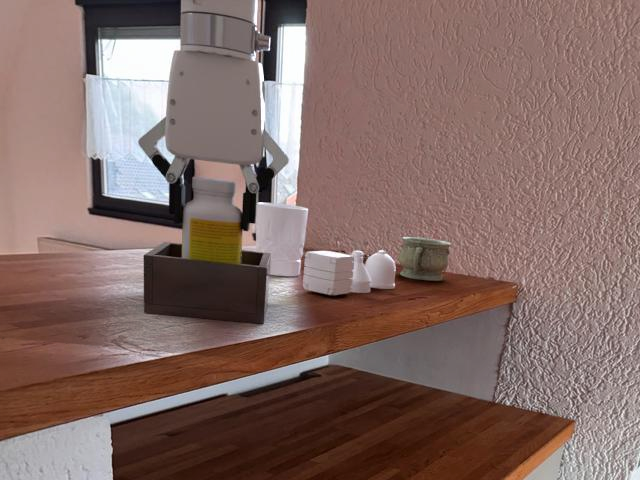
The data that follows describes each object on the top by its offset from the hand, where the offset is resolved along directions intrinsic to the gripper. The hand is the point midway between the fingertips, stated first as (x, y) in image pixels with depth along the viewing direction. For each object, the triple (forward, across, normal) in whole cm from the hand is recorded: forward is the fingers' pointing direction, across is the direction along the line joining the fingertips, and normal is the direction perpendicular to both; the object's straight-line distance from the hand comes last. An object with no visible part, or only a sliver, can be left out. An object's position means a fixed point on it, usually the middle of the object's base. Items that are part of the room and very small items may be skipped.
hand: (212, 224), depth 81 cm
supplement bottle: (+8, 0, 0) cm, 8 cm away
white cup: (+9, -7, -32) cm, 34 cm away
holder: (+9, 0, 0) cm, 9 cm away
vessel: (+9, -32, -45) cm, 56 cm away
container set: (+9, -18, -24) cm, 31 cm away
